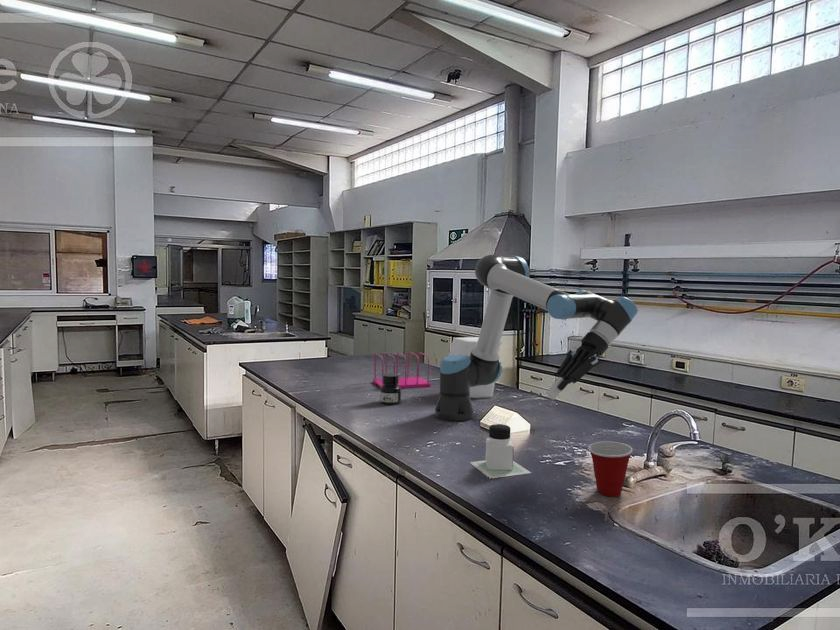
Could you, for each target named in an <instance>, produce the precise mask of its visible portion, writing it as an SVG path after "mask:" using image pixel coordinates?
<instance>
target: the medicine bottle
mask: <svg viewBox="0 0 840 630" xmlns="http://www.w3.org/2000/svg"><path fill="white" fill-rule="evenodd" d="M488 432H489V433H488V435H489V436H488V437H487V438H485V460H486V464H487V468H488V470H513V461H514V445H513V442H512V440H511V427H510V426H509V425H507V424H505V423H493V424H491V425H490V426H489V431H488Z"/></svg>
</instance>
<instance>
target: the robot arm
mask: <svg viewBox="0 0 840 630" xmlns="http://www.w3.org/2000/svg"><path fill="white" fill-rule="evenodd" d="M474 274H475V277H476V280H477V281H478V282H479V283H480V285H483V286H484V287H487V288H488V289H489V291H490V294H489V297H488V301H487V306H486V307H485V313H484V316H483V321H482V324H481V327H480V331H479V335H478V337H479V338H478V342H477V346H476V347H475V348H473V349H472V350H471V354H470V357H469V356H468V355H462V354H459V355H450V356H449V355H448V356H447V355H446V356H445V357H443V358H442V359H441V360H440V368H439V398H438V399H437V403H436V406H435V408H434V416H435V417H436V418H437V419H439V420H443V421H444V420H445V421H452V422H453V421H454V422H455V421H456V422H457V421H468V420H471V419H473V418H474V417H475V409H474V406H473V403H472V400H471V398H470V387H474V386H480V385H488V384H491V383H494V382H495V383H496V382H498V380H500V378H501V376H502V373H503V366H502V361H501V360H500V354H499V353H497V351H498V348H499V344H500V341H501V340H502V338H503V337H502V336H503V333H504V330H505V326H506V322H507V319H508V316H509V315H508V314H509V312H510V308H511V304H512V301H513V297H515V298H518V299H520V300H523V301H524V302H527V303H529V304H531V305H534V306H536V307H538V308H540V309H542V310H544V311H547V313H548V314H549V316H550V317H551V318H553V319H555V320H569V319H581V318H582V319H584V318H589V319H592V320H595V321H597V322H595V324H594V325H593V326H592V327H591V328H590V329H589V332H587V333H586V334H585V335H584V337H582V338H581V340H580V341H581V345H580V346H579V347H577V348H576V350H574V351H573V350H571V349H570V350H568V351H567V355H566V357H565V358H564V360H563V361H562V363H561V365H560V366H559V368H558V369H557V371H556V375H557V378H556V380H555V381H554V382H553V383H552V385H551V386H550V387H549V388H548V389H547V390H546V392H545V394H546V395H547V396H548V397H549V398H550V399H551V400H553V401H554V400H555V399H556V398H557V397H558V396H559V394H560V393H561V392H562V391H563V390H564V389H565V388H566V387H567V386H568V385H569V384H571V383H573V384H576V383H578V382H579V380H581V379H582V378H583V377H584V376H585V375H586V374H587V373H588V372H589V371H591V370H592V369H593V368H594V367H596V366H597V365H599V364H600V360H598V357H601V356H603V354H605V352H606V351H607V350H608V349H609V347H610V346H611V345H612V344H613V343H614V341H616V339H617V338H618V337H619V336H620V335H621V333H622V332H623V331H624V330H625V329H626V327H628V325H629V324H630V323H631V322H632V321H633V320H634V318H635V316H636V315H637V314H638V312H639V311H638V310H639V309H638V307H637V305H636V303H635V302H634V301H633V300H632V299H630V298H628V297H626V296H619V297H617V298H616V299H615V300H611V299H608V298H606V297H603V296H600V295H599V294H596V293H594V292H592V291H588V290H585V289H580V290H579V291H577V292H575V293H574V294H572V293H571V294H570V293H568V292H565V291H562V290H559V289H558V288H555V287H554V286H551V285H548V284H545V283H543V282H541V281H538V280H536V279H533V278H531V277H530V268H529V266H528V263H527V261H526V260H525V259H524V258H523V257H521V256H519V255H513V254H488V255H485V256H483V257H482V258H480V259H479V260H478V261H477V263H476V265H475V268H474ZM501 342H502V341H501ZM499 349H500V348H499Z"/></svg>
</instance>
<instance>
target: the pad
mask: <svg viewBox="0 0 840 630" xmlns="http://www.w3.org/2000/svg"><path fill="white" fill-rule="evenodd" d="M469 463H470V464H471V465H472V466H473V467H474V468H476V469H477V470H479V472H480V473H482V474H483V475H484V476H486V477H487V478H488V477H489V478H488V479H489V480H491V478H492V479H498V478H499V477H500V478H505V477H513V476H520V475H521V476H522V475H528V474H532V472H531V471H530V470H528V469H527V468H525V467H523V466H522V465H520V464H519V463H517V462H516V461H514V460H513V470H488V468H487V464H486V459H485V460H477V461H470V462H469ZM500 478H499V479H500Z"/></svg>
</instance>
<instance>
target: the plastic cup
mask: <svg viewBox="0 0 840 630" xmlns="http://www.w3.org/2000/svg"><path fill="white" fill-rule="evenodd" d="M587 449H588V451H589V453H590V455H591V456H590V457H591V459H592V466H593V473H594V479H595V486H596V490H597V492H598V494H600V495H603V496H606V497H619V496H621V494H622V491H623V488H624V487H623V486H624V483H625V479H626V476H627V475H626V474H627V472H628V471H627V469H628V467H629V466H628V464H629V461H630V458H631V454H632V453H633V451H634V450H633V448H632V446H630V445H629V444H626V443H622V442H617V441H598V442H597V441H596V442H593V443H590V444H589V445H588V446H587Z"/></svg>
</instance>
